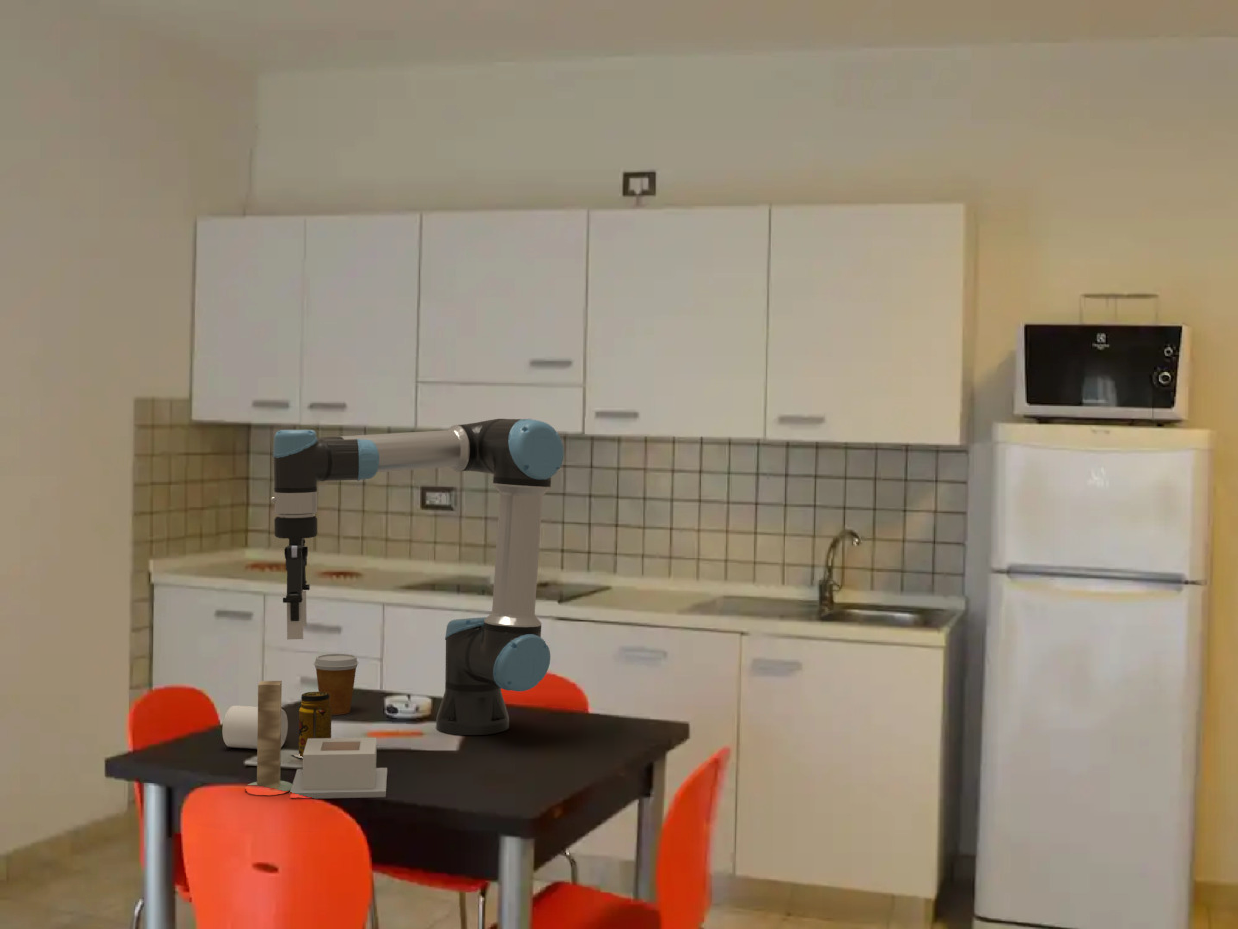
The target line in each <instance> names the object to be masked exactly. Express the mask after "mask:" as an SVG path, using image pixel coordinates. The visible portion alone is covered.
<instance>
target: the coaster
mask: <svg viewBox="0 0 1238 929" xmlns="http://www.w3.org/2000/svg"><path fill="white" fill-rule="evenodd" d="M292 784H293V783H292V782H289V781H285V780H280V786H279V789H278V790H282V791H291V787H292ZM247 785H257V781H253V782H251V783H249V784H247Z"/></svg>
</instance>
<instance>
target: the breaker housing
mask: <svg viewBox="0 0 1238 929" xmlns="http://www.w3.org/2000/svg"><path fill="white" fill-rule="evenodd" d="M377 742H378V741H377V737H331V738H310V739H308V740H307V743H306V746H305V749H304V753H303V760H302V768H297V769H296V772H295V775H294V779H293V781H292V783H291V784H292V787H291V791H290V792H292V793H295V794H299V795H303V796H307V797H312V798H314V799H351V798H352V799H356V798H357V799H358V798H359V799H361V798H362V799H363V798H364V799H365V798H386V796H387V782H388V781H387V780H388V767H377V749H378V748H377ZM290 792H289V793H290Z"/></svg>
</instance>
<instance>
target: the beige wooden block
mask: <svg viewBox="0 0 1238 929" xmlns="http://www.w3.org/2000/svg"><path fill="white" fill-rule="evenodd" d="M282 683H283V682H282V680H259V683H258V684H257V707H258V738H257V749H256V750H257V752H256V763H257V764H256V782H257V786H264V787H270V788H275V789H279V786H280V781H281V772H282V771H281V758H282V757H281V755H282V754H281V753H282V750H281V749H282V747H281V709H282V687H283V686H282Z"/></svg>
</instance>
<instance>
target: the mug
mask: <svg viewBox="0 0 1238 929" xmlns="http://www.w3.org/2000/svg"><path fill="white" fill-rule="evenodd" d="M223 718H224V719H223V722H222V728H221V729H222V731H221V732H222V733H221V734H222V738H223V739H222V740H223V742H224V743H225V745H226V746H227V747H229V748H237V749H252V750H257V738H258V706H248V705H232V706H230V707H229V708H228V709H227V711H226V713H225V715H224V717H223ZM288 728H289V721H288V716H287V713H286V711H285V710H284V709H282V708H281V748H282V747H283V746H284V744H285V742H286V739H287V735H288V730H289V729H288Z"/></svg>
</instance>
